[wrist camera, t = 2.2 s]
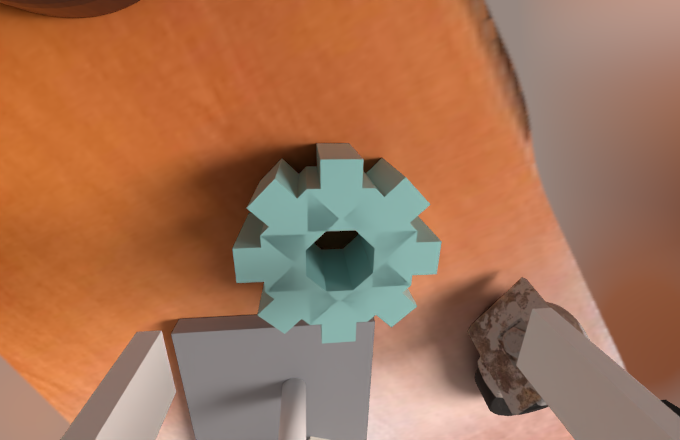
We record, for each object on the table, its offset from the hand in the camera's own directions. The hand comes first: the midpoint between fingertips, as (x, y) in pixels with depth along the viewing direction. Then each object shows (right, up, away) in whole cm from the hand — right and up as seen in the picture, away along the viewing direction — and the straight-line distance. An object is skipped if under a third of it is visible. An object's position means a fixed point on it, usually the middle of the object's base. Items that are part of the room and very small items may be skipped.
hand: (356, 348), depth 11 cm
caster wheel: (+15, -6, +16) cm, 22 cm away
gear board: (-5, -12, +16) cm, 21 cm away
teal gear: (-1, +4, +10) cm, 11 cm away
